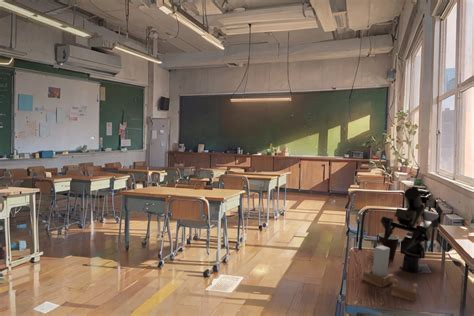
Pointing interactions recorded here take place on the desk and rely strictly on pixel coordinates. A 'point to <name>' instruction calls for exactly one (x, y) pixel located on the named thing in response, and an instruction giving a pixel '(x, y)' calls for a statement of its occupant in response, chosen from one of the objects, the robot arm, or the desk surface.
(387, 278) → the end cap
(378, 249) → the slat
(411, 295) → the end cap
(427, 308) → the desk surface
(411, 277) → the desk surface
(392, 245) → the coffee mug
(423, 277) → the desk surface
